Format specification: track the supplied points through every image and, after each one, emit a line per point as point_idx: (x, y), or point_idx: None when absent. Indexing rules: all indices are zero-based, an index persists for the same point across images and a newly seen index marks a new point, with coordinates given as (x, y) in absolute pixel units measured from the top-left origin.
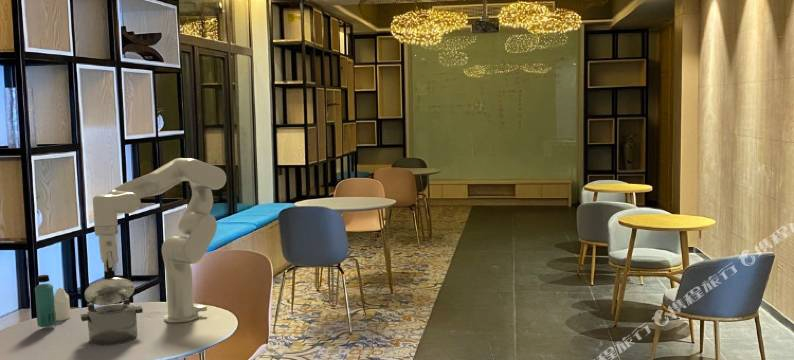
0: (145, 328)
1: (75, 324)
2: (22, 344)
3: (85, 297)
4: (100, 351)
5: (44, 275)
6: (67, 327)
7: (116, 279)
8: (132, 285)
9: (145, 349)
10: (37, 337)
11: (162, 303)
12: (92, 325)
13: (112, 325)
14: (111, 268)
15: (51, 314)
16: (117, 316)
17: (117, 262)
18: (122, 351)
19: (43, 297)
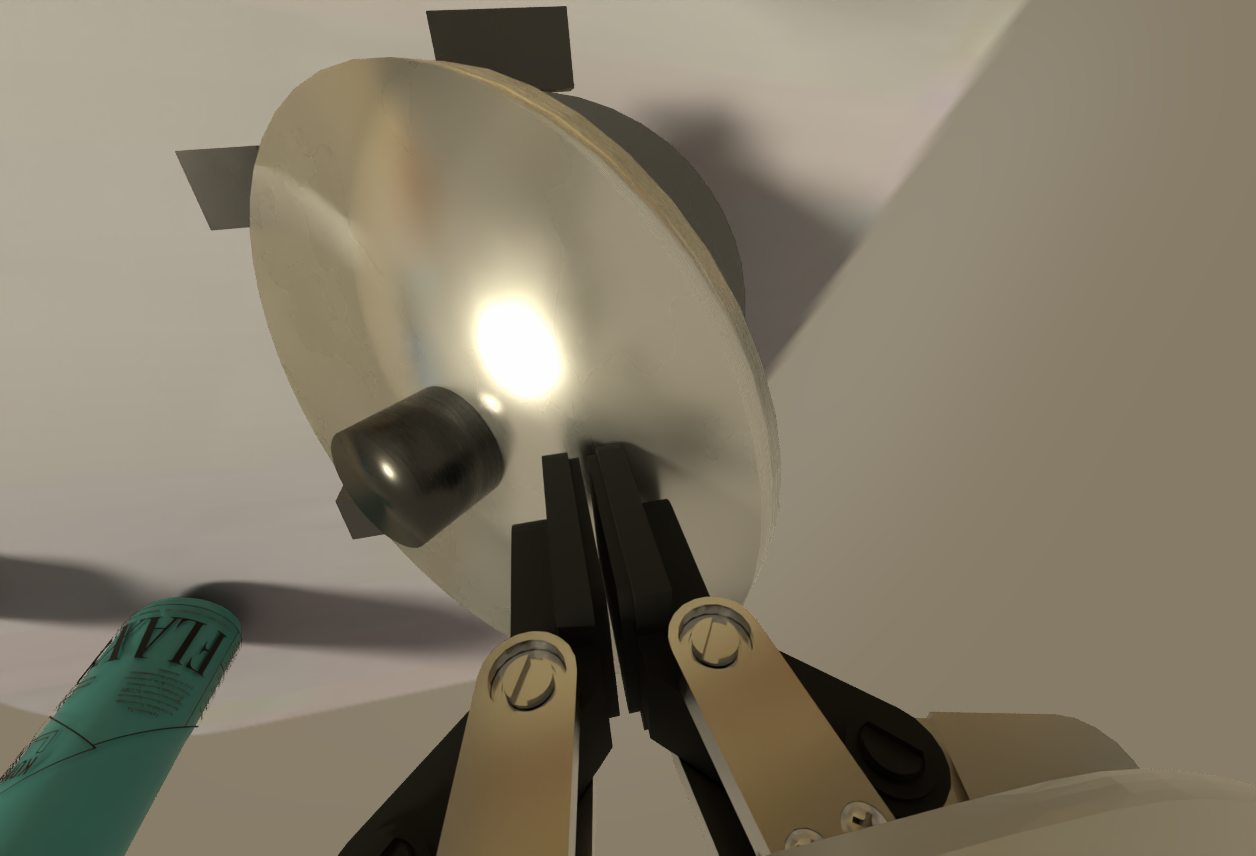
0: (346, 5)
1: (115, 501)
2: (470, 642)
3: None
4: (757, 346)
5: None
6: (190, 531)
7: (770, 444)
8: (546, 100)
9: (884, 92)
10: (372, 617)
11: None
12: None
13: None
14: (851, 699)
15: (184, 662)
16: (740, 293)
17: (1238, 781)
18: (829, 236)
19: (137, 811)
